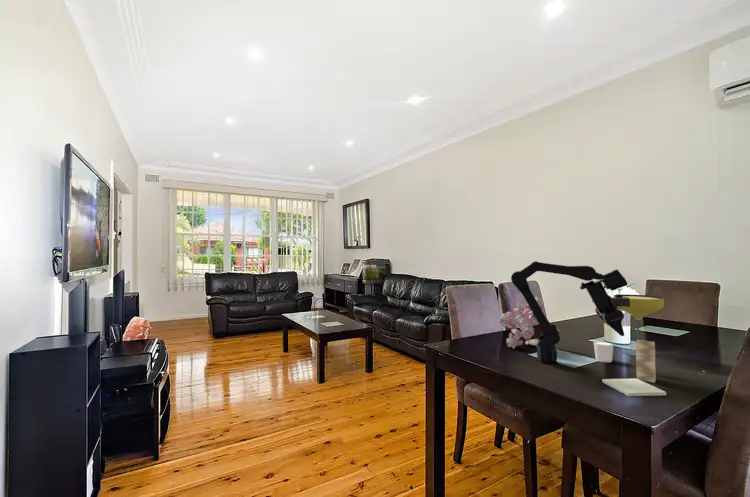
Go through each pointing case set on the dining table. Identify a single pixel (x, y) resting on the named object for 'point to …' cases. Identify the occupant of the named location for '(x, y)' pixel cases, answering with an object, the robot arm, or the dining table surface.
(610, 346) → the shot glass
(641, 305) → the cocktail glass
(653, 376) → the birch block
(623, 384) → the coaster board
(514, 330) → the flower
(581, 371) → the dining table surface
